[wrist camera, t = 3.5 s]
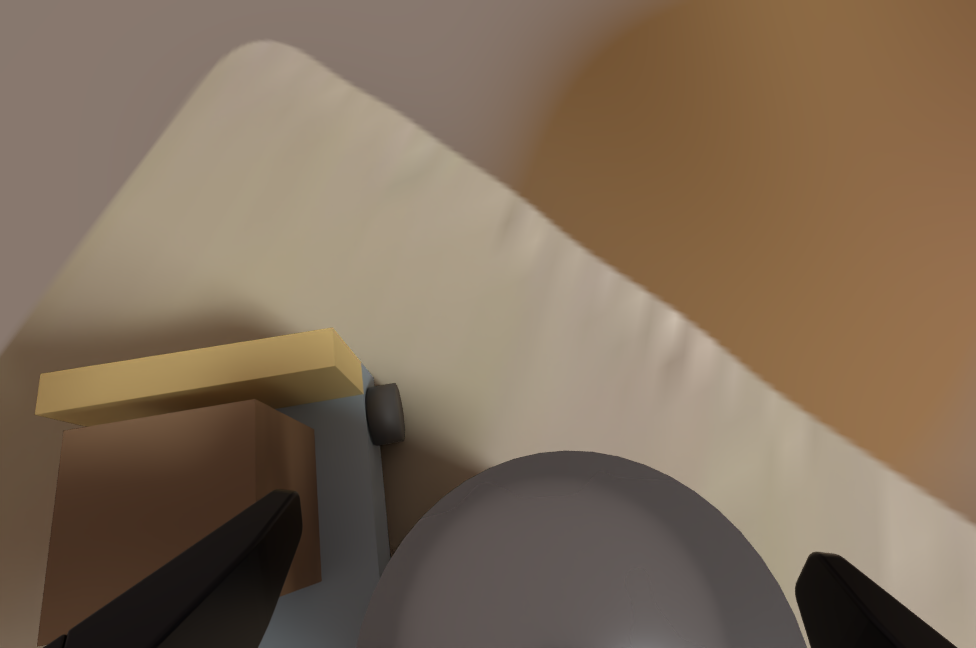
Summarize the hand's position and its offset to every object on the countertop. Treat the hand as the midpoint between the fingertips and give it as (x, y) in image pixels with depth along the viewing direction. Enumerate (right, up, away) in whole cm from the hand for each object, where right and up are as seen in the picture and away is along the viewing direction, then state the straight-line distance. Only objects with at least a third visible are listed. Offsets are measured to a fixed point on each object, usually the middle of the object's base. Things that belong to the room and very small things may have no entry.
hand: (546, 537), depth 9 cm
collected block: (-8, -1, +5) cm, 9 cm away
